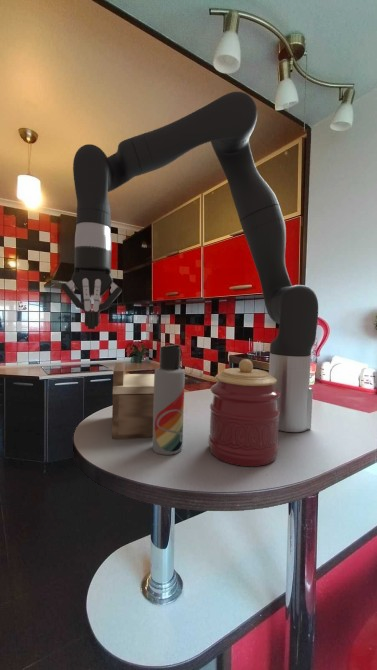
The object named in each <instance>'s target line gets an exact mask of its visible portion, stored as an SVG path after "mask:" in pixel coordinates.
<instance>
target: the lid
mask: <svg viewBox="0 0 377 670" xmlns="http://www.w3.org/2000/svg"><path fill="white" fill-rule="evenodd" d="M124 370H125V363H124V362H115V364H114V367H113V373H112V374H113V379H112V395H113V394H154V373H132V374H131V373H130V374H129V373H127V374H126V373H125V371H124Z"/></svg>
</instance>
